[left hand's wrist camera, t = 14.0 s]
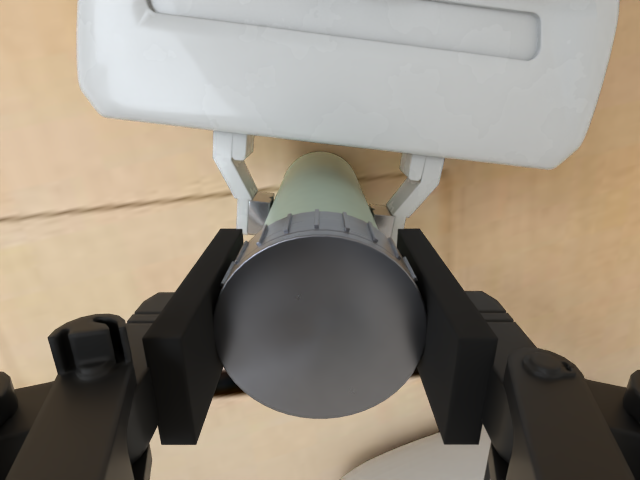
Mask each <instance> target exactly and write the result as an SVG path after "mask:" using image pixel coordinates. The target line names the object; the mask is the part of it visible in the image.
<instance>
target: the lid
mask: <svg viewBox="0 0 640 480" xmlns="http://www.w3.org/2000/svg"><path fill="white" fill-rule="evenodd" d="M416 281H418V280H417V278H416V276H415V274H414V272H413V270H412V268H411V266H410V264H409V262H408V260H407V258H406V257H402V255H401V254H400V252H399V250H398V249H397V247H396V245H395V243H394V241H393V239H392V238H391V237H389V238H387V237H386V236H385V235H384V234H383V233H382V232H380V231H379V230H378V229H377V228H375V227H374V226H373V224H372V222H370V221H368V223H367V222H365V221H363V220H360V219H358V218H355V217H353V216H349V215H347V212H343V213H336V212H328V211H319V209H315V211H312V212H304V213H299V214H295V215H292V214H291V213H290V214H288V215H287V217H285V218H283V219H280V220H278V221H275V222H274V223H272V224H270V225H268V226H267V224H265V225H264V226H263V228H262V230H261V231H260V232H258V233H257V234H256V235H255V236H254V237H253V238H252V239H251V240H250V241H249V242H247V241H245V242H244V244H243V246H242V248H241V250H240V252H239V254H238V256H237V258H236V260H235V262H233V261H232V263H231V265H230V267H229V269H228V271H227V273H226V274H225V276H224V278H223V280H222V282H221V284H220V286H221V287H222V289H221V291H220V294H219V296H218V299H217V302H216V305H215V310H214V315H213V328H214V338H215V346H216V350H217V354H218V356H219V358H220V361H221V363H222V365H223V367H224V368H225V370H226V371H227V373H228V375H229V376H230V377H231V378H232V380H233V381H234V382H235V383H236V384H237V385H238V386H239V387H240V388H241V389H242V390H243V391H244V392H245V393H246V394H248V395H249V396H250V397H252V398H253V399H254V400H256V401H258V402H260V403H261V404H263V405H265V406H267V407H269V408H271V409H274V410H276V411H279V412H282V413H285V414H288V415H292V416H297V417H303V418H313V419H328V418H338V417H343V416H348V415H352V414H356V413H359V412H362V411H365V410H367V409H369V408H371V407H374V406H376V405H377V404H379V403H381V402H383V401H384V400H386V399H387V398H389V397H390V396H391V395H393V394H394V393H395V392H396V391H397V390H398V389H400V388H401V387H402V386H403V385H404V384H405V382H406V381H407V380H408V379H409V378H410V376H411V375H412V374H413V372H414V370H415V369H416V367H417V365H418V364H419V361H420V359H421V357H422V354H423V351H424V348H425V341H426V332H427V314H426V309H425V304H424V301H423V299H422V296H421V293H420V291H419V289H418V287H417V285H416V283H415V282H416Z"/></svg>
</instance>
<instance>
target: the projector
mask: <svg viewBox="0 0 640 480" xmlns="http://www.w3.org/2000/svg"><path fill="white" fill-rule="evenodd" d="M490 444H491V440H490V438H489V436H488V433H487V431H486V429H485V427H484V425H482V430H481V436H480V441H479V445H444V443H443V440H442V437H441V434H440V432H439V433H436V434H433V435H430V436H427V437H424V438H422V439H419V440H416V441H413V442H411V443H408V444H405V445H403V446H400V447H398V448H395V449H393V450H391V451H388V452H386V453H383V454H381V455H379V456H377V457H375V458H373V459H370V460H368V461H366V462H365V463H363V464H361V465H359V466H357V467H356V468H354V469H353V470H351V471H350V472H348V473H347V474H346V475H344V476H343V477H342V478H341V479H340V480H484V475H485V470H486V465H487V460H488V455H489V449H490ZM490 480H491V479H490Z"/></svg>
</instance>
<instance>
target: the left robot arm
mask: <svg viewBox="0 0 640 480" xmlns="http://www.w3.org/2000/svg"><path fill="white" fill-rule="evenodd" d="M242 246H243V231H242V229H220V230H219V232H218V233H217V235H216V236H215V237H214V239H213V240H212V241H211V243H210V244H209V246H208V247H207V248H206V250H205V251H204V253H203V254H202V255H201V257H200V258H199V260H198V261H197V262H196V264H195V265H194V267H193V268H192V269H191V271H190V272H189V274H188V275H187V276H186V278H185V279H184V281H183V282H182V283H181V285H180V286H179V287H178V289H177V290H176V292H159V293H157V294H155V295H154V296H152V297H150V298H149V299H147V300H145V301H144V302H143V303H142V304H141V305H140V307H139V308H138V309H137V310H136V311H135V314H133V315H132V316H131V317H130V318H129V320H128V321H127V323H125V320H124V319H123V318H121V317H120V316H117V315H113V314H95V315H90V316H85V317H81V318H78V319H75V320H73V321H70V322H67V323H66V324H64V325H62V326H61V327H59V328H57V329H55V330H54V331H53V332H52V333H51V335H50V336H49V337H48V341H49V344H50V348H51V351H52V355H53V358H54V362H55V365H56V369H57V372H58V375H57V377H56V379H55V381H52V382H49V383H44V384H39V385H34V386H29V387H24V388H19V389H14V387H13V384H12V381H11V378H10V376H8V375H7V374H6V373H4V372H0V480H150V472H151V465H152V456H151V450H150V444H149V442H150V440H151V438H152V436H153V434H154V432H155V430H156V428H157V426H158V429H159V434H160V440H161V445H196V444H197V441H198V438H199V435H200V432H201V429H202V426H203V424H204V421H205V418H206V415H207V412H208V409H209V406H210V404H211V401H212V398H213V395H214V392H215V389H216V386H217V384H218V381H219V378H220V375H221V372H222V369H223V365H222V363H221V361H220V358H219V356H218V354H217V350H216V346H215V338H214V328H213V315H214V310H215V305H216V302H217V299H218V296H219V294H220V291H221V289H222V287H221V286H220V284H221V282H222V280H223V278H224V276H225V274H226V273H227V271H228V269H229V267H230V265H231V263H232V261H233V262H235V260H236V258H237V256H238V254H239V252H240V250H241V248H242ZM397 249H398V250H399V252H400V254H401V255H402V257H406V258H407V260H408V262H409V264H410V266H411V268H412V270H413V272H414V274H415V276H416V278H417V280H418V281H416V282H415V283H416V285H417V287H418V289H419V291H420V293H421V296H422V299H423V301H424V304H425V309H426V314H427V332H426V341H425V348H424V351H423V354H422V357H421V359H420V361H419V364H418V365H417V369H418V371H419V374H420V377H421V380H422V383H423V386H424V389H425V391H426V394H427V397H428V400H429V403H430V406H431V409H432V411H433V414H434V417H435V420H436V423H437V426H438V429H439V431H440V434H441V437H442V440H443V443H444V445H479V441H480V436H481V430H482V425H484V427H485V429H486V431H487V433H488V436H489V438H490V440H491V444H490V449H489V455H488V460H487V465H486V470H485V475H484V480H490V479H491V480H640V370H637V371H636V372H634V373H633V374H632V375H631V376H630V379H629V382H628V385H627V388H625V387H620V386H615V385H610V384H605V383H600V382H595V381H591V380H587V379H585V378H584V376H583V374H582V373H581V372H580V370H579V369H578V368H577V367H576V365H574V364H573V363H572V362H570V361H569V360H567V359H566V358H564V357H562V356H560V355H558V354H556V353H553V352H551V351H547V350H543V349H539V348H537V347H536V346H535V345H534V344H533V343H532V341H531V340H530V339H529V338H528V337H527V335H526V334H525V333H524V332H523V331H522V329H521V328H520V327H519V326H518V325H517V324H516V322H513V319H512V318H511V316H510V315H509V314H508V313H506V310H505V309H504V308H503V307H502V306H501V305H500V303H499V302H498V301H497V300H496V299H494V298H492V297H491V296H489V295H487V294H486V293H484V292H482V291H464V290H463V288H462V287H461V286H460V284H459V283H458V282H457V280H456V279H455V277H454V276H453V275H452V273H451V272H450V270H449V269H448V268H447V266H446V265H445V263H444V262H443V261H442V259H441V258H440V256H439V255H438V254H437V252H436V251H435V249H434V248H433V247H432V245H431V244H430V242H429V241H428V240H427V238H426V237H425V236H424V234H423V233H422V231H421V230H420V229H398V234H397Z"/></svg>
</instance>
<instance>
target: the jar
mask: <svg viewBox="0 0 640 480" xmlns="http://www.w3.org/2000/svg"><path fill="white" fill-rule="evenodd" d="M315 209H319V211H328V212H336V213H343V212H347V215H349V216H353V217H355V218H358V219H360V220H363V221H365V222H367V223H368V221H370V222H372V224H373V226H374V227H375V228H377V225H376V223H375V221H374V218H373V216H372V213H371V211H370V209H369V206H368V204H367V201H366V199H365V196H364V194H363V192H362V189H361V187H360V184H359V182H358V180H357V177H356V175H355V173H354V171H353V169H352V168H351V166H350V165H349V164H348V163H347V162H346V161H345V160H344V159H342V158H341V157H339V156H337V155H335V154H332V153H329V152H312V153H308V154H306V155H303V156H301V157H300V158H298V159H297V160H296V161H294V162H293V163H292V164H291V166H290V167H289V168H288V170H287V172H286V174H285V176H284V178H283V181H282V183H281V186H280V188H279V190H278V193H277V195H276V197H275V200H274V202H273V205H272V207H271V209H270V212H269V214H268V217H267V219H266V221H265V224H267V226H268V225H270V224H272V223H274V222H275V221H278V220H280V219H283V218H285V217H287V215H288V214H290V213H291V214H292V215H295V214H299V213H304V212H312V211H315ZM265 224H264V225H265ZM377 229H378V228H377Z"/></svg>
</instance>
